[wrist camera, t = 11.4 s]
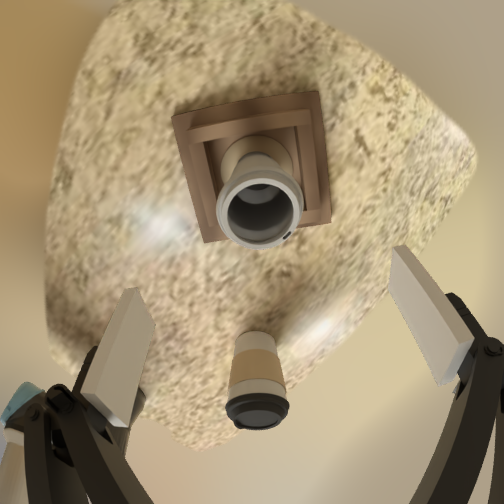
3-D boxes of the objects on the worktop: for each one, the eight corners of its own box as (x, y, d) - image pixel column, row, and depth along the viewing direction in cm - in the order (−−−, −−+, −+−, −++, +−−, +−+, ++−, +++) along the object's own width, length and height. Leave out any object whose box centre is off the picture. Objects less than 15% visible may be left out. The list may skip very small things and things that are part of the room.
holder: (205, 239, 38) (201, 253, 35) (173, 115, 30) (165, 119, 27) (329, 219, 37) (336, 232, 34) (316, 91, 29) (324, 91, 26)
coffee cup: (272, 320, 46) (280, 403, 33) (288, 353, 50) (297, 428, 37) (219, 334, 47) (213, 414, 34) (240, 365, 52) (239, 438, 39)
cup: (258, 211, 35) (263, 270, 25) (213, 177, 33) (196, 224, 22) (299, 166, 32) (325, 208, 22) (253, 128, 30) (256, 151, 19)
